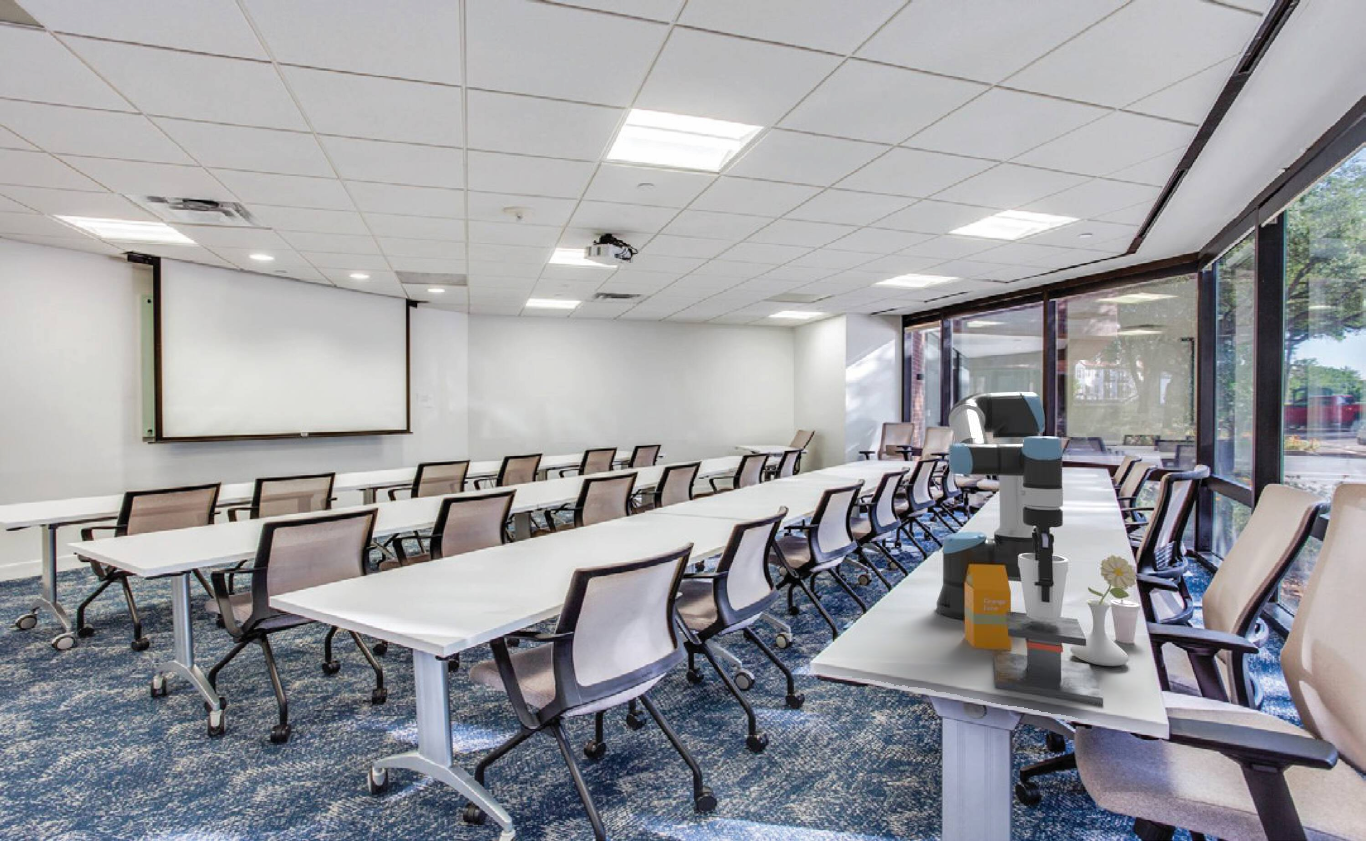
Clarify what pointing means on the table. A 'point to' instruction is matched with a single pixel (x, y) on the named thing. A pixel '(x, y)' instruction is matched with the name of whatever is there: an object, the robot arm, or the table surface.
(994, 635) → the orange juice
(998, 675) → the stand
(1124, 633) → the smoothie
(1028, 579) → the foam cup
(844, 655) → the table surface
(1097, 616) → the flower in vase
